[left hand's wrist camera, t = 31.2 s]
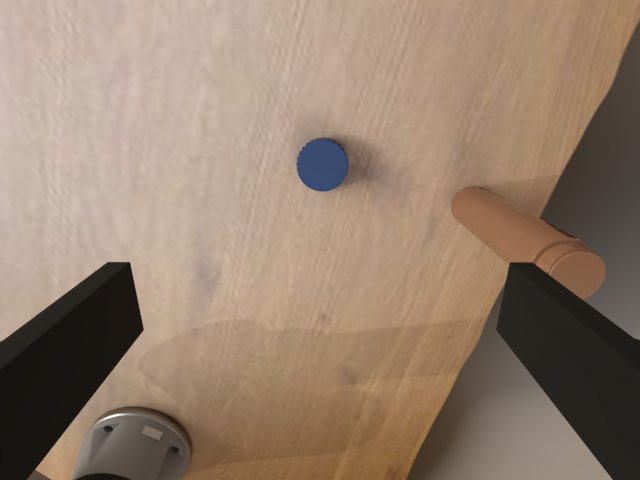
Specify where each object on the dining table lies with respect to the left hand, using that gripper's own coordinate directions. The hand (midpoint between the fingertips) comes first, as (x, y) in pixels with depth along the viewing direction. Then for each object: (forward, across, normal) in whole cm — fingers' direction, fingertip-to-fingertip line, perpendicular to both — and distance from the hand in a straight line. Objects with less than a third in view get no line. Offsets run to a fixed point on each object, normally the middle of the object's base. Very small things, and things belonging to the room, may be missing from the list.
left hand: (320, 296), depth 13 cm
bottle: (+29, +17, -4) cm, 34 cm away
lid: (+27, 0, 0) cm, 27 cm away
